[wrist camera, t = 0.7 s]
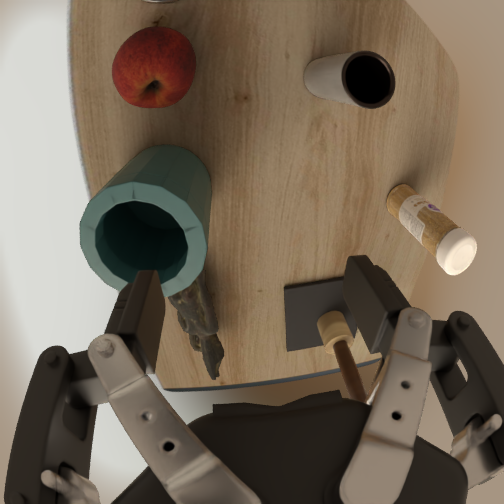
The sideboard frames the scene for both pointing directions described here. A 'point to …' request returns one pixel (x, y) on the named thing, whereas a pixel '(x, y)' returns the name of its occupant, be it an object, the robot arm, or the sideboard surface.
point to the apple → (154, 67)
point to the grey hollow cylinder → (352, 79)
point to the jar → (150, 220)
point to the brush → (342, 351)
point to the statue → (200, 322)
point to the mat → (312, 311)
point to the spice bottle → (433, 229)
